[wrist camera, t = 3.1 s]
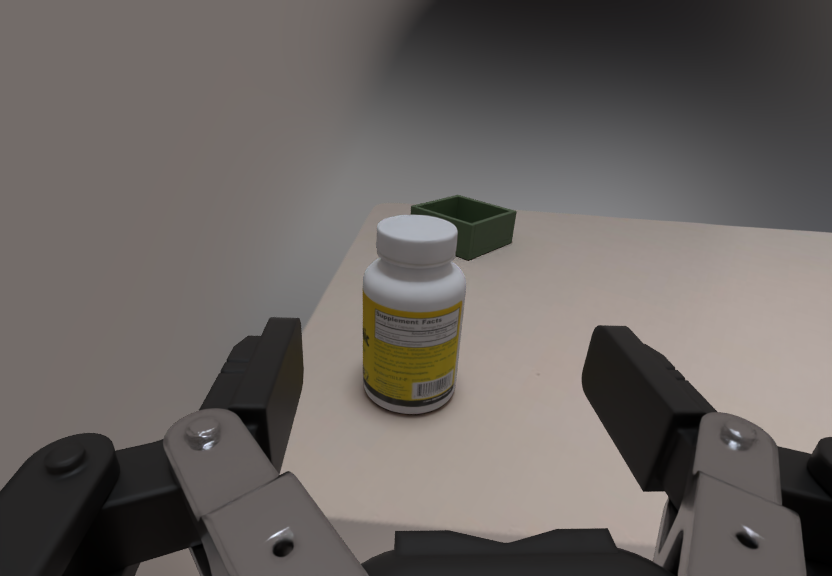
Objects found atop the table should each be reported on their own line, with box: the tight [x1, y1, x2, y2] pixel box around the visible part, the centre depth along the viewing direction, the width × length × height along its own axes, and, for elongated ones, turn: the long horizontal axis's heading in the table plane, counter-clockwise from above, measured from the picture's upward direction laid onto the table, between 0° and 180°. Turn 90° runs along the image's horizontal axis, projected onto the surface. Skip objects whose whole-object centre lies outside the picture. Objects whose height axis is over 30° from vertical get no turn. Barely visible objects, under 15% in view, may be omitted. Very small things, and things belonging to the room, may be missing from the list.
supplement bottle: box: [363, 215, 466, 414], centre depth 25 cm, size 5×5×10 cm
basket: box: [411, 195, 517, 260], centre depth 49 cm, size 8×8×4 cm
